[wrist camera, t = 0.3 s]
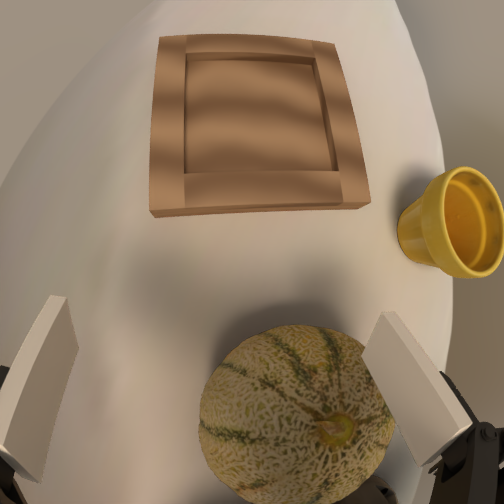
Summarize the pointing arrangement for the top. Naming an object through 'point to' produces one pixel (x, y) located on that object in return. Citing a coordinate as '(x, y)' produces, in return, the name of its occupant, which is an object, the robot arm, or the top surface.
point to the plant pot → (455, 225)
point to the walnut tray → (252, 127)
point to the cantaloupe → (294, 417)
